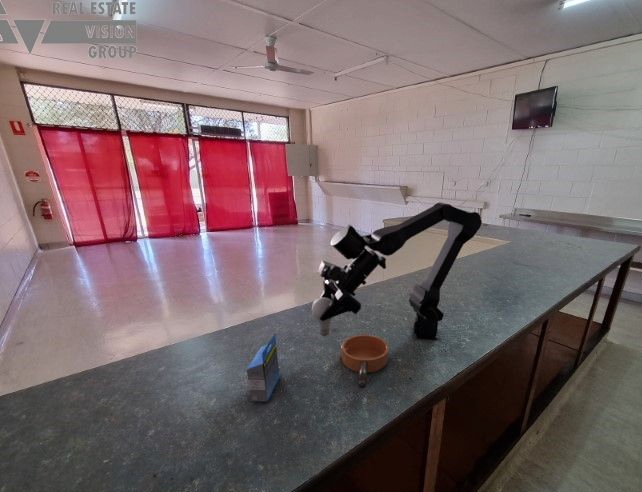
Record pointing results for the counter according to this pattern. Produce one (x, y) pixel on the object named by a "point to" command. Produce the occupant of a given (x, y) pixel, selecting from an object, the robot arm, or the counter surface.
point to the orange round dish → (365, 352)
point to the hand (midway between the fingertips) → (318, 314)
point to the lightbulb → (318, 310)
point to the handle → (363, 375)
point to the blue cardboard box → (263, 372)
